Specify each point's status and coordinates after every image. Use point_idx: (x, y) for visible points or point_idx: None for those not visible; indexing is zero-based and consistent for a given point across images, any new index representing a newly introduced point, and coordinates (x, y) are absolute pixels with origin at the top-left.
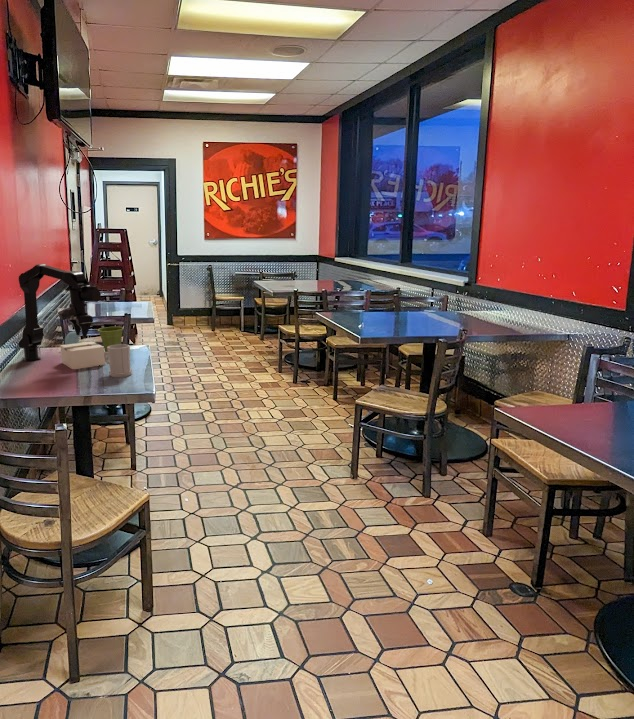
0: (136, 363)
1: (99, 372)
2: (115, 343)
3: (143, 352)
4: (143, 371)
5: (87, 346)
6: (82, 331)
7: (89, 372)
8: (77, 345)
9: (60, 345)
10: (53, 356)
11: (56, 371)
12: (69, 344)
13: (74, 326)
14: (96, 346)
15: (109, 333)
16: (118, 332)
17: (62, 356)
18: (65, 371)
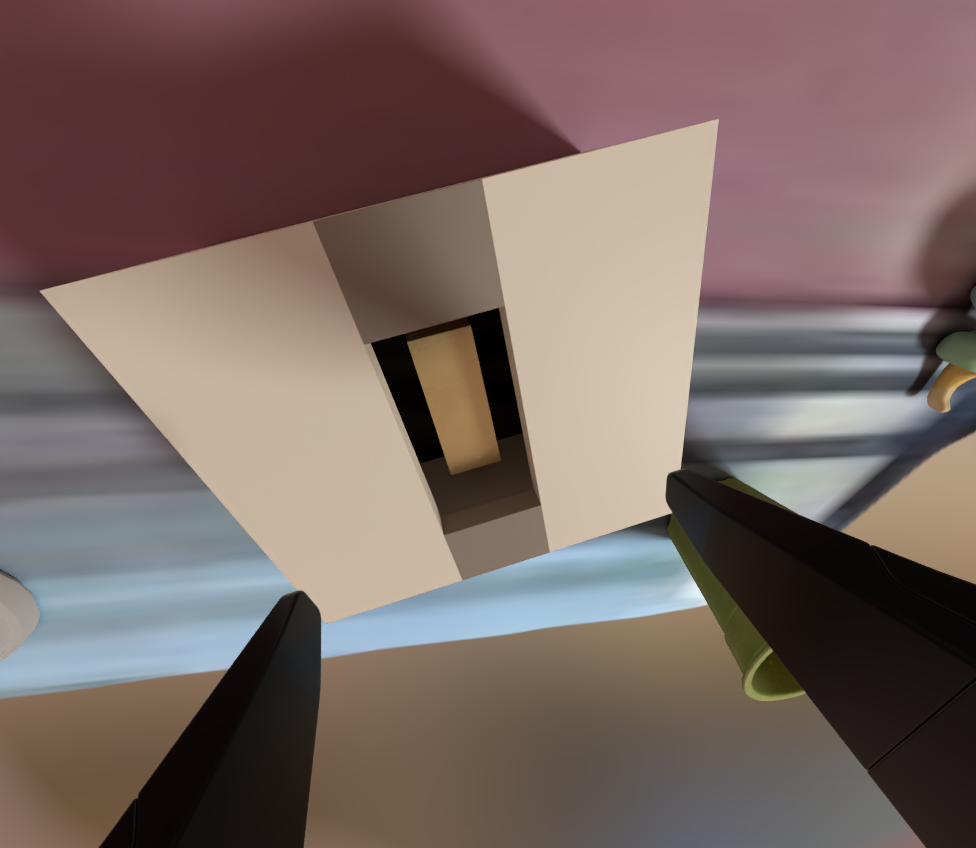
0: (329, 627)
1: (36, 473)
2: (695, 576)
3: (587, 620)
4: (76, 677)
5: (411, 496)
6: (146, 793)
7: (33, 400)
8: (538, 388)
9: (709, 121)
10: (921, 84)
11: (97, 11)
12: (677, 283)
13: (866, 609)
14: (373, 570)
15: (755, 630)
16: (739, 666)
17: (574, 154)
18: (93, 151)
